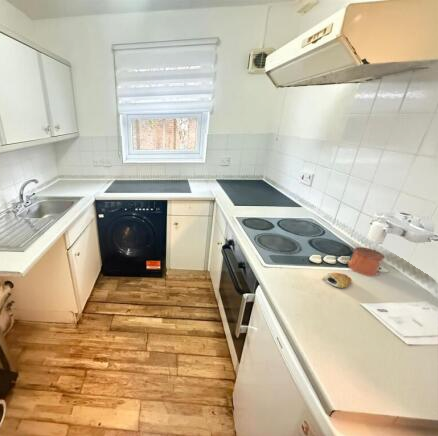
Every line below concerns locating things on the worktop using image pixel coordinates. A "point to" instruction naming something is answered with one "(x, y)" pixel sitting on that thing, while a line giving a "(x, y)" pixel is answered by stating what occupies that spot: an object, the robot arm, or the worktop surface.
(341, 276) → the pastry
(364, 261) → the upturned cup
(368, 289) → the worktop surface
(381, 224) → the eye dropper bottle
